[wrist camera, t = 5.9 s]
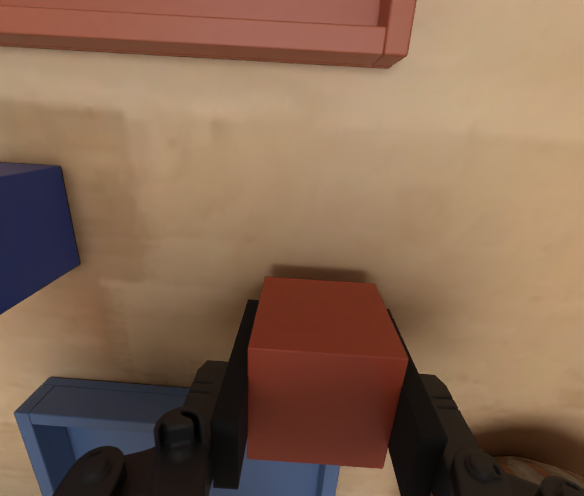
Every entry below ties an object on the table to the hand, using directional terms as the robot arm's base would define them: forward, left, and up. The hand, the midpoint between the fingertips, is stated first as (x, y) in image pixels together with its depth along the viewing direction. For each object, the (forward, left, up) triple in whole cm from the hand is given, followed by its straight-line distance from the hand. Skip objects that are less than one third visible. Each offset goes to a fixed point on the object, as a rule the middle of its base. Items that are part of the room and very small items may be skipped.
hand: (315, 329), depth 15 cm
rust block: (0, 0, 0) cm, 0 cm away
